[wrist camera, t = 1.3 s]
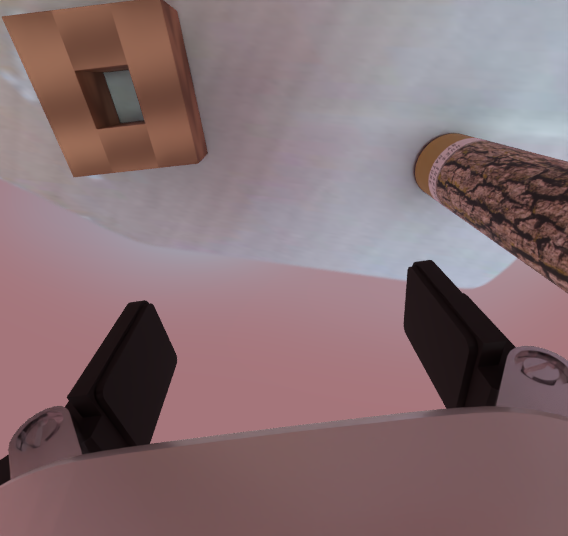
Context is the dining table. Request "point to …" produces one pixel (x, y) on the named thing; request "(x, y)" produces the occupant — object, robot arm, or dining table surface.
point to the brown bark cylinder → (503, 197)
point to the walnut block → (94, 91)
